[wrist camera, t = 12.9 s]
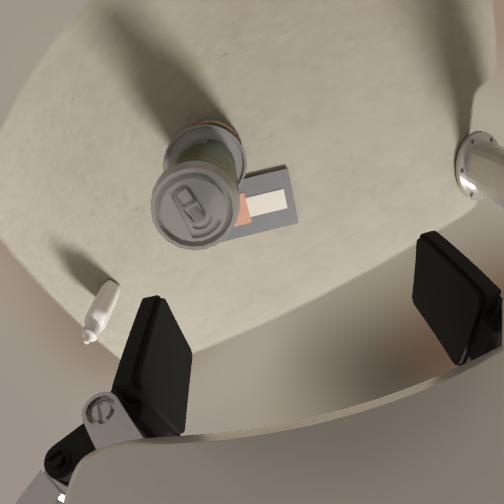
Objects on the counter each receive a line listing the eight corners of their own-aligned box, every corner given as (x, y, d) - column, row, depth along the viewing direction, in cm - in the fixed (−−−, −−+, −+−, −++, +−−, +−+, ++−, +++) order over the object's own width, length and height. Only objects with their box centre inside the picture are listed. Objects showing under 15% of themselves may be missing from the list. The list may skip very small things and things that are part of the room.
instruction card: (286, 167, 39) (287, 168, 38) (297, 221, 42) (298, 223, 42) (198, 189, 39) (198, 191, 39) (215, 241, 43) (215, 243, 42)
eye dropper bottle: (129, 296, 46) (109, 348, 36) (105, 306, 47) (83, 356, 37) (114, 276, 44) (89, 326, 34) (90, 288, 45) (64, 336, 34)
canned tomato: (239, 116, 35) (244, 121, 25) (243, 175, 39) (249, 201, 29) (177, 122, 35) (158, 130, 25) (183, 180, 38) (169, 209, 29)
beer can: (167, 158, 26) (128, 198, 16) (216, 127, 25) (208, 144, 15) (197, 203, 29) (182, 268, 18) (246, 175, 28) (259, 225, 17)
